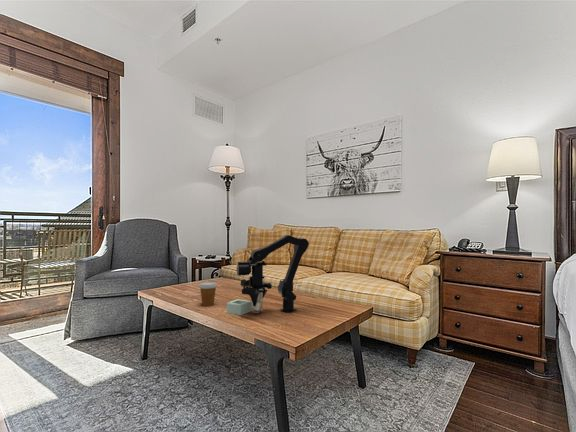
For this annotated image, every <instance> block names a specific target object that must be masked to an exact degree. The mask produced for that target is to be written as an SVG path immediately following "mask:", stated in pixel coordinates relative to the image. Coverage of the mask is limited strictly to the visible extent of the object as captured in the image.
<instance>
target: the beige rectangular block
mask: <svg viewBox="0 0 576 432" xmlns="http://www.w3.org/2000/svg"><path fill="white" fill-rule="evenodd" d="M257 293H259V295H258V299H257V304H256V306H253V303H252V313H254V314H259V313H261V312H262V310H264V309H263V307H264V306H263V304H264V303H263V300H264V298H263V292H257Z"/></svg>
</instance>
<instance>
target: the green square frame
mask: <svg viewBox="0 0 576 432" xmlns="http://www.w3.org/2000/svg"><path fill="white" fill-rule="evenodd" d="M249 312H253V310H252V300H246V299H239V298H237V299H235V300H231V301H227V302H226V313H227V314H231V315H232V314H233V315H236V316H237V315H238V316H243V315H245V314H248V313H249Z"/></svg>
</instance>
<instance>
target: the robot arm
mask: <svg viewBox="0 0 576 432" xmlns="http://www.w3.org/2000/svg"><path fill="white" fill-rule="evenodd" d="M287 244H291V245H293V254H292V257H291V261H290V262H289V266H288V268H287V271H286V275H284V276H285V277H284V278H283V280H282V279H280V280H279V282H278V283H279V284H278V285H277V291H278V294H280V296H281V298H283V299H282V308H281V309H280V312H284V313H285V312H286V313H292V312H294V311H297V307H295V301H297V300H296V299H297V295H296V294H295V293H294V292H293V290H294V289H293V288H294V280H295V277H296V274H297V271H298V268H299V265H300V262H301V258H302V257H303V255H304V254H305V253H306V251H307V249H308V248H309V246H310V243H309V241H308V239H307V238H304V237H303V238H302V237H294V236H292V235H289V234H285V235H284V236H282V237H280V238H279V239H277V240H275V241H273V242H271V243H270V244H267V245H266V246H263V247H258V248H255V249H254V250H252V251H251V252H250V256H249V258H248V259H247V260H246V261H238V262H237V265H236V276H237V277H239V276H249V275H250V274H251V276H249V279H248V280H247V279H241V280H240V286H241V287H242V289H241V294H242V295H247V296H249V297H250V299H251V300H250V301H252V303H253V306H256V304H257V299H258V295H259V293H257V292H263V299H264V298H265V295H266V294H267V292H268V291H269V290H270V289H272V287H273V285H272V283H271V282H268V281H267V282H264V279H265V276H264V266H265V267H266V266H267V265H268V264H267V263H266V262H265V259H266V258H267V257H268V256H269V255H270V254H272V253H273V252H275V251H277V250H279V249H280V248H282V247H284V246H286V245H287ZM266 288H267V289H266Z"/></svg>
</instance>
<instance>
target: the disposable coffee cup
mask: <svg viewBox="0 0 576 432" xmlns="http://www.w3.org/2000/svg"><path fill="white" fill-rule="evenodd" d="M217 285H218V284H217V282H215V281H214V282H213V281H204V282H201V283H200V284H199V288H200V296H201V305H202V306H203V307H211V306H214V304H215V296H216V289H217Z"/></svg>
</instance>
